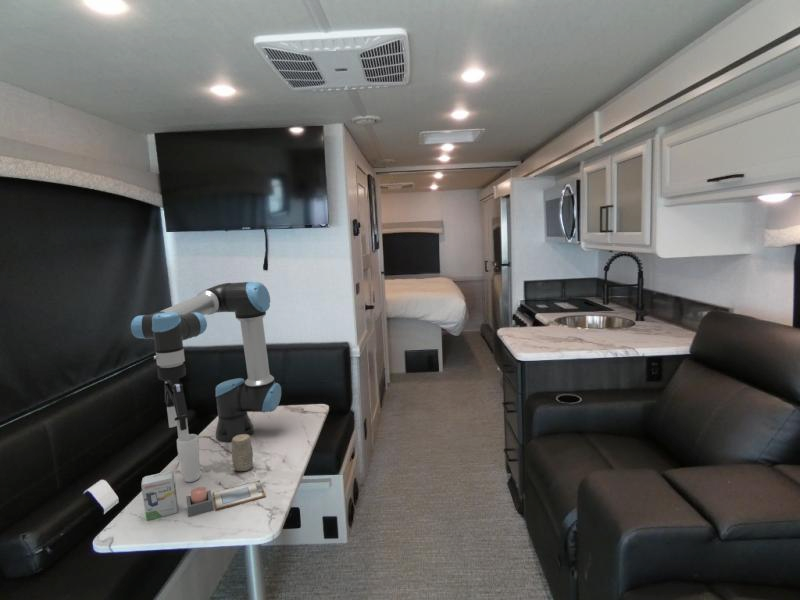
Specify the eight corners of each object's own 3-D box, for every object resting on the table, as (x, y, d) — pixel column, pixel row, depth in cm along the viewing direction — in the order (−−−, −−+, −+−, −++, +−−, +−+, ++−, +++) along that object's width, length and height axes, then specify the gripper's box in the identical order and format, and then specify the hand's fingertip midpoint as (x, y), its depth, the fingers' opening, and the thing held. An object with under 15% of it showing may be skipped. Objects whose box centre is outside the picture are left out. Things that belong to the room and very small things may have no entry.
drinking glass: (206, 475, 164) (202, 434, 162) (192, 485, 158) (187, 443, 156) (191, 473, 167) (186, 432, 165) (176, 482, 160) (171, 441, 158)
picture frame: (212, 494, 152) (212, 490, 152) (259, 481, 158) (259, 478, 158) (215, 511, 142) (215, 507, 142) (265, 497, 148) (265, 493, 148)
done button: (191, 501, 145) (190, 489, 145) (206, 497, 147) (205, 485, 146) (192, 508, 141) (190, 496, 141) (207, 504, 143) (206, 492, 142)
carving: (258, 465, 170) (255, 433, 168) (243, 475, 163) (239, 442, 162) (244, 462, 173) (241, 431, 171) (229, 472, 166) (226, 440, 164)
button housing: (187, 505, 146) (186, 496, 145) (211, 499, 149) (210, 490, 148) (188, 516, 140) (187, 507, 139) (213, 510, 143) (212, 500, 142)
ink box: (178, 505, 146) (173, 469, 145) (177, 513, 142) (173, 476, 140) (147, 512, 143) (142, 476, 142) (145, 521, 138) (140, 484, 137)
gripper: (149, 359, 147) (157, 424, 150) (165, 375, 127) (174, 449, 130) (175, 355, 152) (182, 418, 154) (194, 369, 132) (202, 442, 134)
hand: (178, 432), depth 142 cm, fingers open, 13 cm apart
